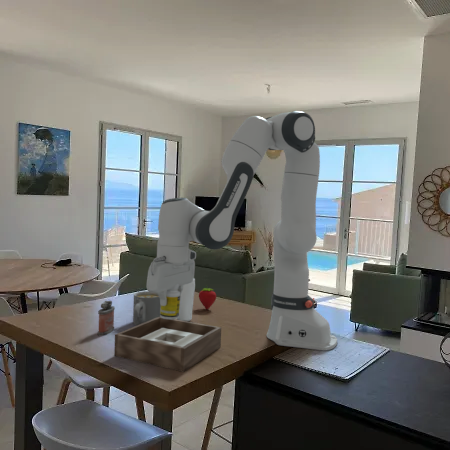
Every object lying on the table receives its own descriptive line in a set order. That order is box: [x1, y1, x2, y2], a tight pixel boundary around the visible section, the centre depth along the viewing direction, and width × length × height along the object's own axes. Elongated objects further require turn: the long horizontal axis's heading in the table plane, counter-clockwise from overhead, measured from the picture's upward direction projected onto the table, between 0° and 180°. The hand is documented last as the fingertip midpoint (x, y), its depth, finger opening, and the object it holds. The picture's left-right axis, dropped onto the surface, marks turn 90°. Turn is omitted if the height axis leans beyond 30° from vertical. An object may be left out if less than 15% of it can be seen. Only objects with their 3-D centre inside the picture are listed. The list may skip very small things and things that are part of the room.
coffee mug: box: [132, 291, 161, 326], centre depth 156 cm, size 13×10×10 cm
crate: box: [113, 317, 222, 372], centre depth 130 cm, size 22×22×6 cm
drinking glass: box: [176, 277, 196, 322], centre depth 163 cm, size 7×7×15 cm
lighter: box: [97, 300, 116, 337], centre depth 146 cm, size 8×3×10 cm, turn 168°
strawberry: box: [198, 284, 217, 310], centre depth 180 cm, size 6×8×10 cm
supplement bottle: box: [160, 284, 180, 320], centre depth 129 cm, size 5×5×10 cm
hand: (170, 302), depth 129 cm, fingers closed on supplement bottle, 5 cm apart
